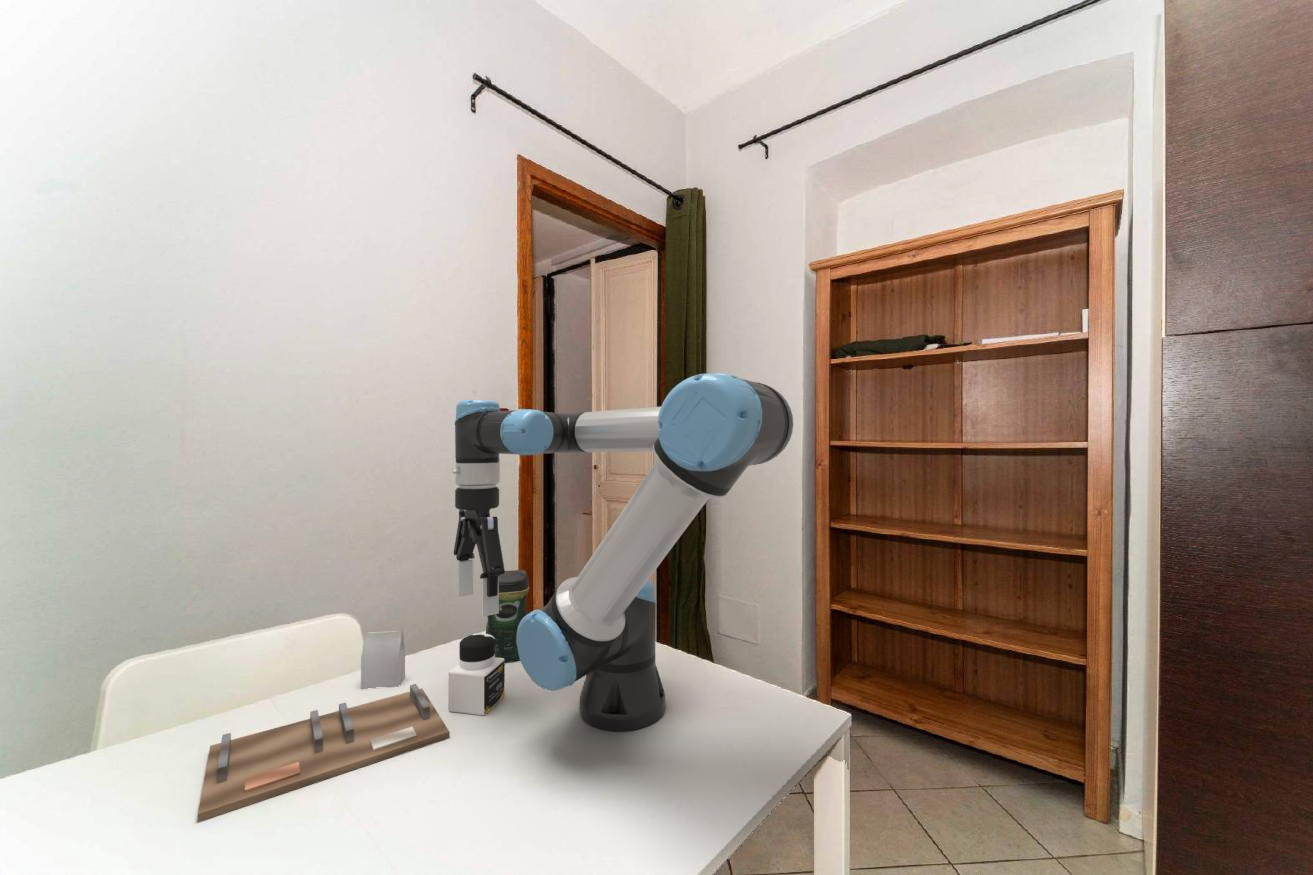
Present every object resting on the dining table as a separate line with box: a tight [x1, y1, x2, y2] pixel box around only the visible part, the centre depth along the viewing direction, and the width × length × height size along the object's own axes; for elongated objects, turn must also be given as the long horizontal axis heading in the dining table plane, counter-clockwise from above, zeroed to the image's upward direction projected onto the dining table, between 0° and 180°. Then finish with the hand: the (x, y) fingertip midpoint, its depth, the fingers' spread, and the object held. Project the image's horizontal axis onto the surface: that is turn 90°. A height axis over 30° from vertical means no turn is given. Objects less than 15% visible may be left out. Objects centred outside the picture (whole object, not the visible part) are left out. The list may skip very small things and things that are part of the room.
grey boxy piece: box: [360, 630, 406, 690], centre depth 100 cm, size 4×7×10 cm, turn 99°
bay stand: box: [197, 683, 450, 823], centre depth 80 cm, size 18×30×3 cm, turn 127°
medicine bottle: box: [448, 632, 506, 716], centre depth 93 cm, size 7×7×12 cm
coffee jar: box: [485, 569, 530, 662], centre depth 113 cm, size 10×8×19 cm
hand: (476, 604), depth 93 cm, fingers open, 13 cm apart
